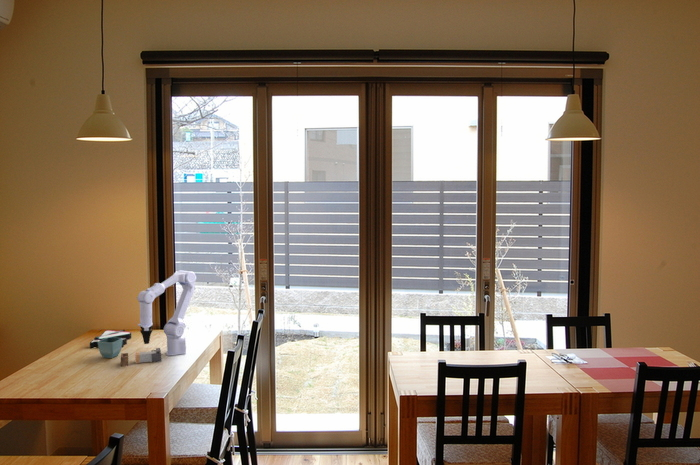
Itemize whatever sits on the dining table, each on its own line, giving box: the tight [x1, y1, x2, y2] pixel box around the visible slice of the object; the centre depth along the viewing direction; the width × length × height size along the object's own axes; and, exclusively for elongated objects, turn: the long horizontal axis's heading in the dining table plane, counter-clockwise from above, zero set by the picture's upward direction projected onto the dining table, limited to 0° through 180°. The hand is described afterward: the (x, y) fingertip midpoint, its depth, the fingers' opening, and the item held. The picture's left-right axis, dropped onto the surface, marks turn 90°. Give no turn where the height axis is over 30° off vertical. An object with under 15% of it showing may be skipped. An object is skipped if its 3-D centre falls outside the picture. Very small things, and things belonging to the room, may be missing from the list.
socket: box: [120, 352, 129, 367], centre depth 262 cm, size 3×7×4 cm, turn 22°
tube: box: [134, 349, 162, 364], centre depth 266 cm, size 12×4×4 cm, turn 112°
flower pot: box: [97, 337, 123, 359], centre depth 274 cm, size 9×9×9 cm
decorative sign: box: [89, 329, 132, 349], centre depth 302 cm, size 18×4×30 cm
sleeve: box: [151, 347, 162, 363], centre depth 268 cm, size 4×6×5 cm
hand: (146, 341), depth 266 cm, fingers open, 7 cm apart
